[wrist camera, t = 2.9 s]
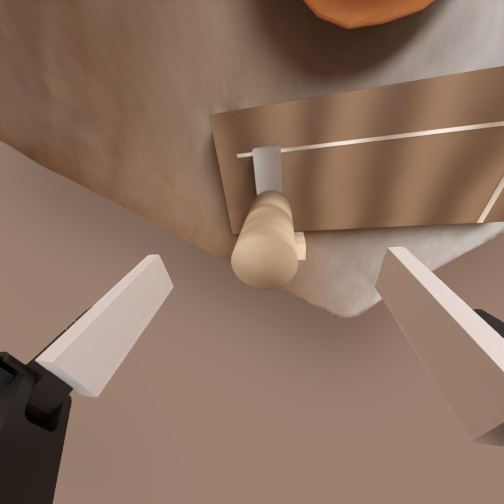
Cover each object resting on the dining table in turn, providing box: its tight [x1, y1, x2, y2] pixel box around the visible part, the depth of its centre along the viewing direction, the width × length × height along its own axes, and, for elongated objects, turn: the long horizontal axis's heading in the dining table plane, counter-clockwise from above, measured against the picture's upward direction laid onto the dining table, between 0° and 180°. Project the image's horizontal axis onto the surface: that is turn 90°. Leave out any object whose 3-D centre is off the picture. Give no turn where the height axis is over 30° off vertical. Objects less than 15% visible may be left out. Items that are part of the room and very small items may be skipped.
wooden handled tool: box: [231, 145, 306, 289], centre depth 17 cm, size 7×11×14 cm, turn 7°
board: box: [209, 66, 504, 234], centre depth 18 cm, size 30×12×3 cm, turn 97°
